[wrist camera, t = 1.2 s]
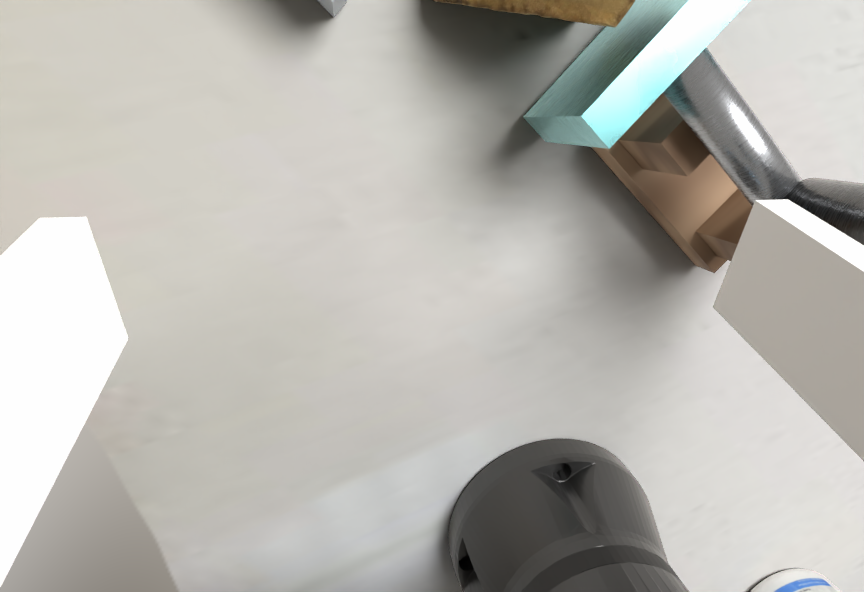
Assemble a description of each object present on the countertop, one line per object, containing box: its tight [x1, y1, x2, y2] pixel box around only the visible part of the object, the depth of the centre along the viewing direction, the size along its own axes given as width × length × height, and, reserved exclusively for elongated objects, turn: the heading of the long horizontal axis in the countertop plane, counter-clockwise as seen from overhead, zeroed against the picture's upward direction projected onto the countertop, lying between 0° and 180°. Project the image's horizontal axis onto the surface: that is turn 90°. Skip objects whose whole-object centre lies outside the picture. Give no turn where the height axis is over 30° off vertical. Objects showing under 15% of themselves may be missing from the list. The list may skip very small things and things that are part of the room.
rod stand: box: [591, 93, 752, 273], centre depth 32 cm, size 12×6×6 cm, turn 47°
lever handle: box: [523, 0, 864, 245], centre depth 23 cm, size 15×10×21 cm, turn 47°
